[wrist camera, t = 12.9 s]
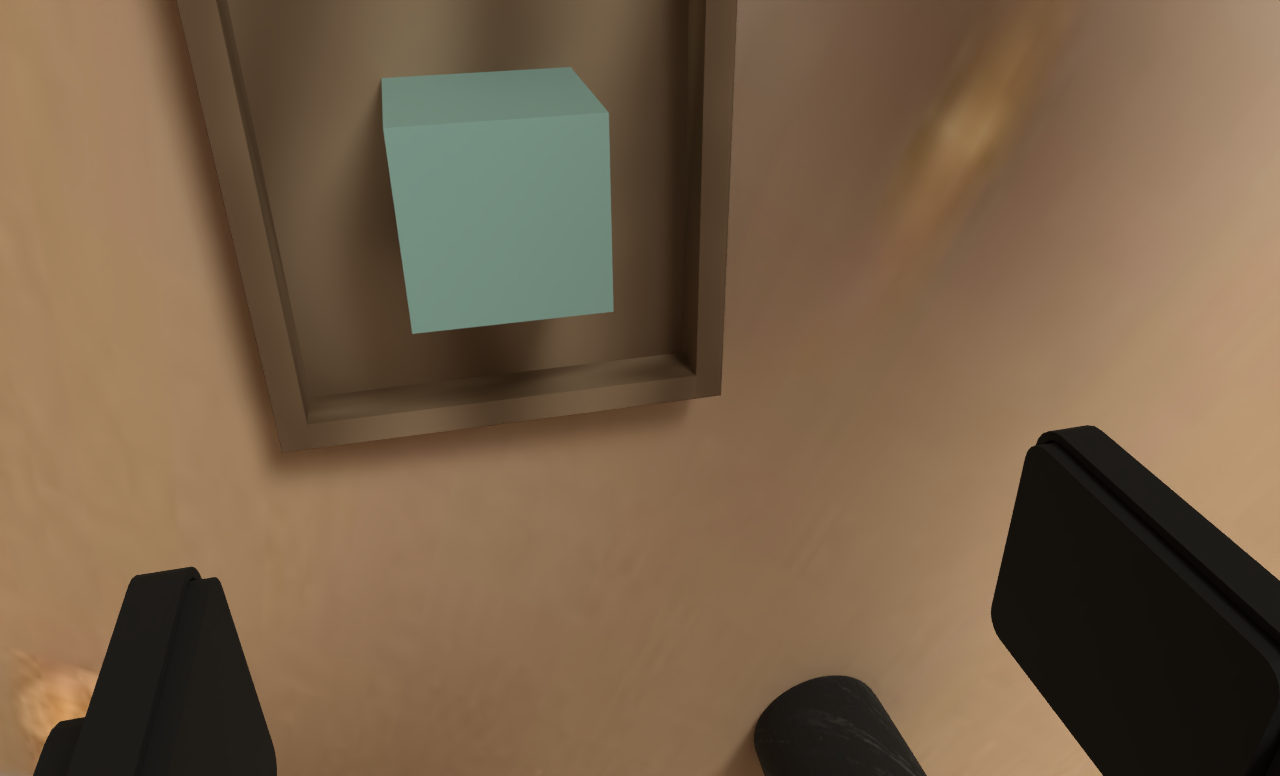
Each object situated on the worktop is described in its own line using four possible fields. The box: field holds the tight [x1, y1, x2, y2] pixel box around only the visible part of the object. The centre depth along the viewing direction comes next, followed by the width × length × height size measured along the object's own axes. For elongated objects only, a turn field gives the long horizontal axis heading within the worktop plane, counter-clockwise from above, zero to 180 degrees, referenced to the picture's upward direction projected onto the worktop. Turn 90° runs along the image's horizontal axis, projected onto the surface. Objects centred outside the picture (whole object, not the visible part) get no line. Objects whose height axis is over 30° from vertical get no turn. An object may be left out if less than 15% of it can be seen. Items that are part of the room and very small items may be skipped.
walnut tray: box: [177, 0, 737, 452], centre depth 32 cm, size 16×18×2 cm
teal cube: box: [381, 67, 614, 334], centre depth 30 cm, size 6×6×6 cm
